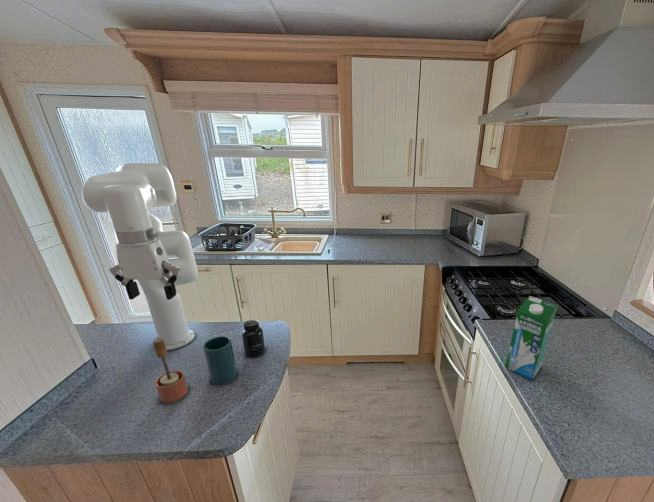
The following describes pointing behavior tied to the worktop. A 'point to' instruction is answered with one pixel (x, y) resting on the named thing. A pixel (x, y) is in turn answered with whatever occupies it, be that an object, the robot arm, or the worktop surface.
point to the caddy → (172, 388)
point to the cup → (220, 359)
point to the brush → (164, 363)
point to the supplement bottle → (253, 338)
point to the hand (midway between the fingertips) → (153, 297)
